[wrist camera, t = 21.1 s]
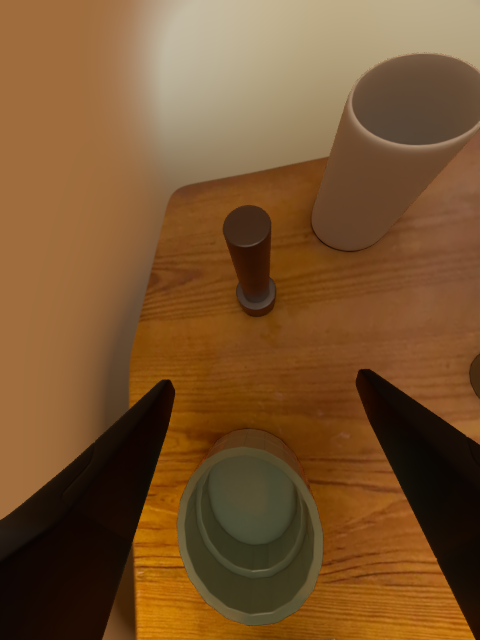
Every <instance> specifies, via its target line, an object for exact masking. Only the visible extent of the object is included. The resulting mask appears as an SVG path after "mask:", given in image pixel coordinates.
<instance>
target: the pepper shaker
mask: <svg viewBox="0 0 480 640" xmlns="http://www.w3.org/2000/svg"><path fill="white" fill-rule="evenodd" d="M470 378H471V384H472V386H473V388H474V390H475V392H476V394H477V395H478V396H479V398H480V355H478V356H477V357H476V359H475V360H474V361H473V363H472V365H471V370H470Z"/></svg>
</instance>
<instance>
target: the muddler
mask: <svg viewBox="0 0 480 640" xmlns="http://www.w3.org/2000/svg"><path fill="white" fill-rule="evenodd" d="M223 234H224V237H225V240H226V243H227V246H228V249H229V252H230V255H231V258H232V261H233V264H234V267H235V270H236V273H237V276H238V279H239V283H238V285H237V289H236V294H237V298H238V301H239V303H240V305H241V307H242V309H243V310H244V312H245V313H247V314H248V315H250V316H254V317H260V316H264V315H266V314H268V313H269V312H270V311H271V310H272V308H273V306H274V303H275V297H276V286H275V283H274V281H273V280H272V279H271V278H270V249H271V220H270V217H269V215H268V214H267V213H266V212H265V211H264V210H263V209H262V208H260V207H257V206H253V205H246V206H241V207H238V208H236V209H234V210H233V211H232V212H231V213H229V215H228V216H227V217H226V219H225V221H224V224H223Z"/></svg>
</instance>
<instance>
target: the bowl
mask: <svg viewBox="0 0 480 640" xmlns="http://www.w3.org/2000/svg"><path fill="white" fill-rule="evenodd" d="M177 532H178V542H179V551H180V555H181V558H182V560H183V563H184V566H185V569H186V572H187V574H188V577H189V579H190V581H191V582H192V584H193V585H194V586H195V588H196V589H197V591H198V592H199V594H200V595H201V597H202V598H203V599H204V601H205V602H206V603H207V604H209V605H210V606H211V607H212V608H214V609H215V610H216V611H218V612H219V613H220V614H221V615H223V616H224V617H225V618H227V619H230V620H233V621H236V622H239V623H242V624H245V625H248V626H250V625H251V626H257V625H268V624H275V623H278V622H279V621H281V620H283V619H285V618H286V617H288V616H290V615H291V614H293V613H295V612H296V611H298V610H299V608H300V607H301V606H302V605H303V603H304V602H305V601H306V599H307V598H308V597H309V595H310V594H311V593H312V591H313V589H314V587H315V584H316V581H317V578H318V575H319V572H320V569H321V565H322V561H323V530H322V526H321V522H320V517H319V513H318V509H317V505H316V503H315V500H314V497H313V494H312V491H311V488H310V486H309V483H308V480H307V477H306V474H305V472H304V469H303V468H302V466H301V464H300V462H299V460H298V459H297V457H296V455H295V454H294V452H293V451H292V450H291V449H290V448H289V447H288V446H287V445H286V444H285V443H284V442H283V441H282V440H281V439H279V438H277V437H275V436H273V435H272V434H270V433H268V432H266V431H262V430H256V429H250V428H249V429H248V428H247V429H242V430H236V431H233V432H230V433H228V434H227V435H225V436H223V437H221V438H220V439H218V440H217V441H216V442H215V444H214V445H213V446H212V447H211V448H210V449H209V451H208V452H207V453H206V455H205V456H204V458H203V459H202V461H201V462H200V463H199V465H198V466H197V468H196V469H195V471H194V472H193V474H192V475H191V477H190V479H189V481H188V483H187V486H186V488H185V490H184V492H183V495H182V497H181V500H180V506H179V513H178V519H177Z"/></svg>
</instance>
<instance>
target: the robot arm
mask: <svg viewBox="0 0 480 640" xmlns="http://www.w3.org/2000/svg"><path fill="white" fill-rule="evenodd" d="M356 387H357V390H358V393H359V395H360V398H361V401H362V404H363V406H364V409H365V412H366V415H367V417H368V420H369V422H370V424H371V426H372V428H373V430H374V432H375V434H376V436H377V438H378V441H379V443H380V445H381V447H382V449H383V451H384V453H385V455H386V457H387V459H388V461H389V463H390V465H391V467H392V469H393V471H394V473H395V475H396V477H397V479H398V481H399V483H400V486H401V488H402V490H403V492H404V494H405V496H406V498H407V500H408V502H409V504H410V506H411V508H412V510H413V512H414V514H415V516H416V518H417V520H418V522H419V524H420V526H421V528H422V531H423V533H424V535H425V537H426V539H427V541H428V543H429V545H430V547H431V549H432V551H433V553H434V555H435V557H436V558H437V562H438V564H439V566H440V568H441V570H442V572H443V574H444V576H445V578H446V580H447V582H448V584H449V586H450V588H451V590H452V592H453V594H454V596H455V598H456V600H457V602H458V605H459V607H460V609H461V611H462V613H463V615H464V617H465V619H466V621H467V623H468V625H469V627H470V629H471V631H472V633H473V635H474V637H475V639H476V640H480V445H479V444H478V443H476V442H475V441H473V440H472V439H470V438H469V437H466V435H464V434H463V433H462V432H460V431H459V430H457V429H456V428H454V427H453V426H451V425H450V424H449V423H447V422H446V421H444V420H443V419H441V418H440V417H438V416H437V415H435V414H434V413H433V412H431V411H430V410H428V409H427V408H425V407H424V406H422V405H421V404H420V403H418V402H417V401H415V400H414V399H412V398H411V397H409V396H408V395H407V394H405V393H404V392H402V391H401V390H399V389H398V388H396V387H395V386H394V385H392V384H391V383H389V382H388V381H386V380H385V379H383V378H382V377H381V376H379V375H378V374H376V373H375V372H373V371H372V370H370V369H360V370H359V371H358V375H357V378H356ZM174 398H175V389H174V387H173V385H172V382H171V381H170V380H169V379H167V380H161V381H160V382H158V383H157V384H156V385H155V386H154V387H153V388H152V389H151V390H150V391H149V392H148V393H147V394H146V395H144V396H143V397H142V398H141V399H140V400H139V401H138V402H137V403H136V404H135V405H134V406H133V407H131V408H130V409H129V410H128V411H127V412H126V413H125V414H124V415H123V416H122V417H121V418H120V419H119V420H117V421H116V422H115V423H114V424H113V425H112V426H111V427H110V428H109V429H108V430H107V431H106V432H104V434H102V435H101V436H100V437H99V438H98V439H97V440H96V441H95V443H93V444H91V445H90V446H89V447H88V448H87V449H86V450H85V451H84V452H83V453H82V454H81V455H79V456H78V457H77V458H76V459H75V460H74V461H73V462H72V463H71V464H69V465H68V466H67V467H66V468H65V469H63V470H62V471H61V472H60V473H59V474H58V475H56V476H55V477H54V478H53V479H52V480H51V481H49V482H48V483H47V484H46V485H44V486H43V487H42V488H41V489H39V490H38V491H37V492H36V493H35V494H33V495H32V496H31V497H30V498H29V499H27V500H26V501H25V502H24V503H23V504H22V505H20V506H19V507H18V508H16V509H15V510H14V511H13V512H11V513H10V514H9V515H7V516H6V517H5V518H3V519H1V520H0V640H102V638H103V635H104V632H105V629H106V626H107V622H108V619H109V616H110V612H111V609H112V606H113V603H114V600H115V597H116V594H117V590H118V587H119V584H120V581H121V578H122V574H123V571H124V568H125V564H126V562H127V558H128V555H129V552H130V549H131V545H132V544H131V543H132V542H133V539H134V535H135V532H136V529H137V526H138V523H139V519H140V516H141V513H142V510H143V506H144V503H145V500H146V497H147V494H148V490H149V487H150V484H151V481H152V478H153V474H154V471H155V468H156V465H157V462H158V458H159V455H160V452H161V449H162V446H163V442H164V439H165V436H166V433H167V429H168V426H169V422H170V417H171V412H172V408H173V403H174Z"/></svg>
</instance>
